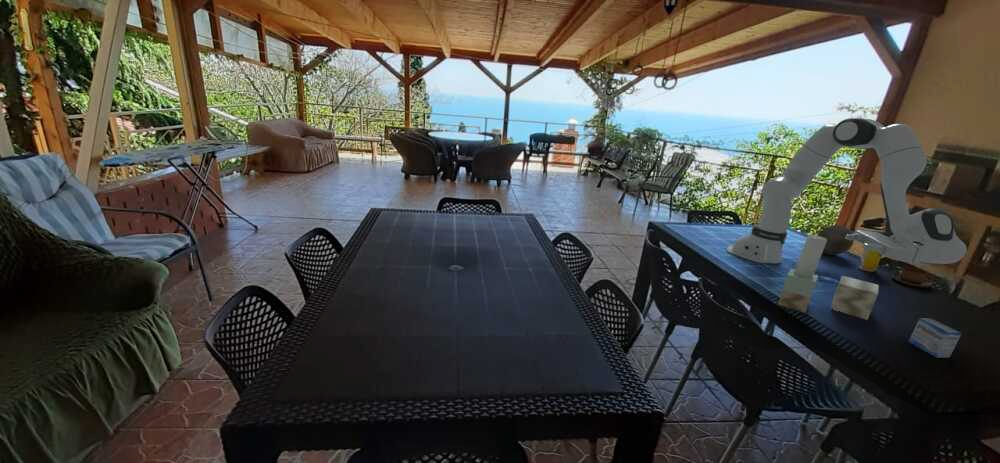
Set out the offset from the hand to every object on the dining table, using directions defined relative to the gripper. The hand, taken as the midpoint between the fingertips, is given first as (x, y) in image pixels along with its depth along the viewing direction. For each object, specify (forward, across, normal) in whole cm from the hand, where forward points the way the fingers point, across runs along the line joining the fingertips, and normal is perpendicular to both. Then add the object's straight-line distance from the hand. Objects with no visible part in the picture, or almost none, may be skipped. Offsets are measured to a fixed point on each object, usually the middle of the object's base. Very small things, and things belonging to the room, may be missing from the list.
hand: (855, 241), depth 133 cm
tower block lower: (+14, +4, +25) cm, 29 cm away
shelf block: (-5, +2, +25) cm, 25 cm away
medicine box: (-14, +24, +25) cm, 37 cm away
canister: (+14, +4, +13) cm, 19 cm away
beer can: (-38, -44, +25) cm, 63 cm away
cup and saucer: (-47, -33, +25) cm, 62 cm away
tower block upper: (+14, +4, +19) cm, 24 cm away
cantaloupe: (-31, -60, +25) cm, 72 cm away
